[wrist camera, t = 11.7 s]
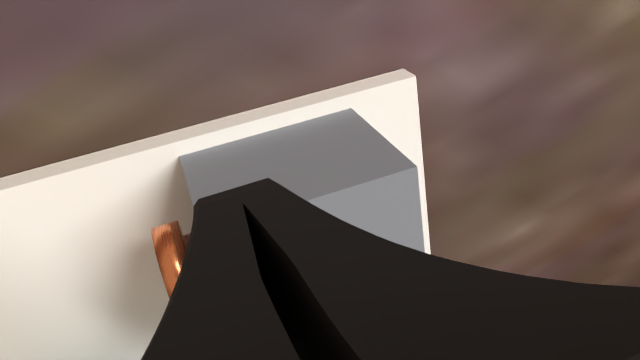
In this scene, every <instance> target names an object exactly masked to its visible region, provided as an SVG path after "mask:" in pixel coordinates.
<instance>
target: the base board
mask: <svg viewBox="0 0 640 360" xmlns="http://www.w3.org/2000/svg"><path fill="white" fill-rule="evenodd" d="M349 108H352V109H353V110H354V111H355V112H356V113H357V114H359V115H360V116H361V117H362V118H363V119H364V120H365V121H366V122H368V123H369V124H370V125H371V126H372V127H373V128H374V129H376V130H377V131H378V132H379V133H380V134H381V135H382V136H383V137H385V138H386V139H387V140H388V141H389V142H390V143H391V144H392V145H394V146H395V147H396V148H397V149H398V150H399V151H400V152H401V153H403V154H404V155H405V156H406V157H407V158H408V159H409V160H411V161H412V162H413V163H414V164H415V165H416V166H417V169H418V181H419V192H420V203H421V215H422V226H423V237H424V249H425V253H428V254H430V242H429V230H428V217H427V205H426V193H425V181H424V169H423V157H422V145H421V133H420V120H419V108H418V96H417V84H416V76H415V75H413V74H412V73H410V72H408V71H407V70H405V69H400V70H396V71H393V72H389V73H385V74H381V75H378V76H374V77H370V78H367V79H363V80H359V81H356V82H352V83H348V84H345V85H341V86H337V87H334V88H330V89H326V90H323V91H319V92H315V93H311V94H308V95H304V96H300V97H297V98H293V99H289V100H286V101H282V102H278V103H275V104H271V105H267V106H264V107H260V108H256V109H253V110H249V111H245V112H241V113H238V114H234V115H230V116H227V117H223V118H219V119H216V120H212V121H208V122H205V123H201V124H197V125H194V126H190V127H186V128H182V129H179V130H175V131H171V132H168V133H164V134H160V135H157V136H153V137H149V138H146V139H142V140H138V141H135V142H131V143H127V144H124V145H120V146H116V147H112V148H109V149H105V150H101V151H98V152H94V153H90V154H87V155H83V156H79V157H76V158H72V159H68V160H65V161H61V162H57V163H54V164H50V165H46V166H42V167H39V168H35V169H31V170H28V171H24V172H20V173H17V174H13V175H9V176H6V177H2V178H0V360H141V358H142V356H143V355H144V353H145V351H146V349H147V347H148V345H149V343H150V341H151V339H152V337H153V335H154V333H155V331H156V329H157V327H158V325H159V323H160V321H161V319H162V316H163V314H164V312H165V310H166V307H167V305H168V302H169V300H170V299H169V296H168V294H167V291H166V288H165V285H164V281H163V278H162V275H161V272H160V268H159V265H158V261H157V257H156V253H155V249H154V245H153V240H152V235H151V228H153V227H156V226H160V225H163V224H166V223H170V222H173V221H176V220H178V221H179V224H180V226H181V229H182V232H183V235H186V234H189V233H191V228H192V222H193V212H194V211H193V204H192V200H191V197H190V193H189V190H188V186H187V183H186V179H185V176H184V172H183V169H182V165H181V162H180V158H179V156H182V155H185V154H189V153H193V152H196V151H200V150H203V149H207V148H210V147H214V146H218V145H221V144H225V143H228V142H232V141H235V140H239V139H242V138H246V137H250V136H253V135H257V134H260V133H264V132H267V131H271V130H274V129H278V128H282V127H285V126H289V125H292V124H296V123H299V122H303V121H307V120H310V119H314V118H317V117H321V116H324V115H328V114H331V113H335V112H339V111H342V110H346V109H349Z"/></svg>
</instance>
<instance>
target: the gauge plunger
mask: <svg viewBox="0 0 640 360" xmlns="http://www.w3.org/2000/svg"><path fill="white" fill-rule="evenodd" d="M151 235H152V240H153V245H154V249H155V253H156V257H157V261H158V265H159V268H160V272H161V275H162V278H163V281H164V285H165V288H166V291H167V294H168V296H169V299H170V297H171V294H172V292H173V289H174V287H175V284H176V281H177V279H178V276H179V273H180V270H181V267H182V264H183V260H184V256H185V253H186V249H187V246H188V242H189V238H190V233H189V234H186V235H183V232H182V229H181V226H180V224H179V221H178V220H176V221H173V222H170V223H166V224H163V225H160V226H156V227H153V228H151Z"/></svg>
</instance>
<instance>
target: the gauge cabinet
mask: <svg viewBox="0 0 640 360" xmlns="http://www.w3.org/2000/svg"><path fill="white" fill-rule="evenodd" d="M179 158H180V162H181V165H182V169H183V172H184V176H185V179H186V183H187V186H188V190H189V193H190V197H191V200H192V204H193V207H194V205H195V203H196V202H197V200H198V199H200V198H203V197H206V196H210V195H213V194H216V193H220V192H223V191H226V190H229V189H233V188H236V187H239V186H243V185H246V184H249V183H252V182H256V181H259V180H262V179H266V178H270V179H272V180H273V181H275V182H277V183H279V184H280V185H282V186H283V187H285V188H287V189H288V190H290V191H291V192H293V193H295V194H296V195H298V196H300V197H301V198H303V199H305V200H306V201H308V202H310V203H311V204H313V205H315V206H317V207H318V208H320V209H322V210H324V211H326V212H328V213H329V214H331V215H333V216H335V217H337V218H339V219H341V220H343V221H345V222H347V223H349V224H351V225H353V226H356V227H358V228H360V229H363V230H365V231H367V232H369V233H372V234H374V235H376V236H379V237H381V238H384V239H386V240H389V241H392V242H394V243H397V244H400V245H403V246H406V247H409V248H412V249H415V250H418V251H421V252H425V249H424V237H423V226H422V215H421V203H420V192H419V181H418V169H417V166H416V165H415V164H414V163H413V162H412V161H411V160H409V159H408V158H407V157H406V156H405V155H404V154H403V153H401V152H400V151H399V150H398V149H397V148H396V147H395V146H394V145H392V144H391V143H390V142H389V141H388V140H387V139H386V138H385V137H383V136H382V135H381V134H380V133H379V132H378V131H377V130H376V129H374V128H373V127H372V126H371V125H370V124H369V123H368V122H366V121H365V120H364V119H363V118H362V117H361V116H360V115H359V114H357V113H356V112H355V111H354V110H353V109H352V108H349V109H346V110H342V111H339V112H335V113H331V114H328V115H324V116H321V117H317V118H314V119H310V120H307V121H303V122H299V123H296V124H292V125H289V126H285V127H282V128H278V129H274V130H271V131H267V132H264V133H260V134H257V135H253V136H250V137H246V138H242V139H239V140H235V141H232V142H228V143H225V144H221V145H218V146H214V147H210V148H207V149H203V150H200V151H196V152H193V153H189V154H185V155H182V156H179Z"/></svg>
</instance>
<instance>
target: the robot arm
mask: <svg viewBox="0 0 640 360" xmlns="http://www.w3.org/2000/svg"><path fill="white" fill-rule="evenodd" d="M193 211H194V212H193V222H192V228H191V233H190V238H189V242H188V246H187V249H186V253H185V256H184V260H183V264H182V267H181V270H180V273H179V276H178V279H177V281H176V284H175V287H174V289H173V292H172V294H171V297H170V300H169V302H168V305H167V307H166V310H165V312H164V314H163V316H162V319H161V321H160V323H159V325H158V327H157V329H156V331H155V333H154V335H153V337H152V339H151V341H150V343H149V345H148V347H147V349H146V351H145V353H144V355H143V356H142V358H141V360H640V287H627V286H612V285H597V284H585V283H575V282H568V281H560V280H553V279H546V278H538V277H531V276H525V275H519V274H513V273H508V272H502V271H497V270H492V269H487V268H483V267H479V266H474V265H470V264H465V263H461V262H456V261H452V260H449V259H445V258H441V257H438V256H434V255H431V254H428V253H425V252H421V251H418V250H415V249H412V248H409V247H406V246H403V245H400V244H397V243H394V242H392V241H389V240H386V239H384V238H381V237H379V236H376V235H374V234H372V233H369V232H367V231H365V230H363V229H360V228H358V227H356V226H353V225H351V224H349V223H347V222H345V221H343V220H341V219H339V218H337V217H335V216H333V215H331V214H329V213H328V212H326V211H324V210H322V209H320V208H318V207H317V206H315V205H313V204H311V203H310V202H308V201H306V200H305V199H303V198H301V197H300V196H298V195H296V194H295V193H293V192H291V191H290V190H288V189H287V188H285V187H283V186H282V185H280V184H279V183H277V182H275V181H273V180H272V179H270V178H266V179H262V180H259V181H256V182H252V183H249V184H246V185H243V186H239V187H236V188H233V189H229V190H226V191H223V192H220V193H216V194H213V195H210V196H206V197H203V198H200V199H198V200H197V202H196V203H195V205H194V207H193Z"/></svg>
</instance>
